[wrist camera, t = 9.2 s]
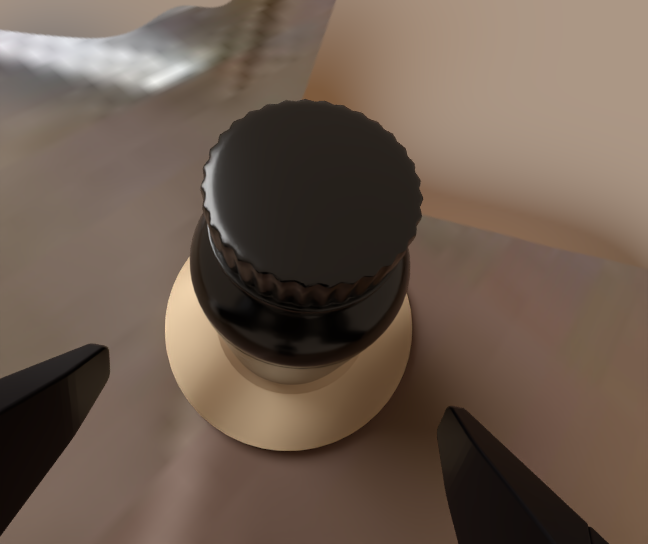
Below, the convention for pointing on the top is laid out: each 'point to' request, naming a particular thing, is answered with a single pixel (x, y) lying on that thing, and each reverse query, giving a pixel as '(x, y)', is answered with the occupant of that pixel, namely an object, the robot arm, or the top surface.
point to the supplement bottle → (304, 237)
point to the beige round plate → (272, 398)
